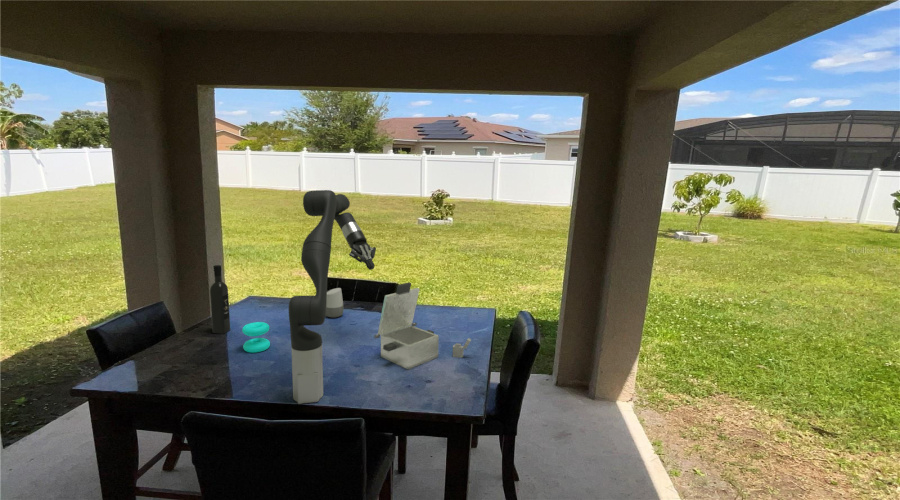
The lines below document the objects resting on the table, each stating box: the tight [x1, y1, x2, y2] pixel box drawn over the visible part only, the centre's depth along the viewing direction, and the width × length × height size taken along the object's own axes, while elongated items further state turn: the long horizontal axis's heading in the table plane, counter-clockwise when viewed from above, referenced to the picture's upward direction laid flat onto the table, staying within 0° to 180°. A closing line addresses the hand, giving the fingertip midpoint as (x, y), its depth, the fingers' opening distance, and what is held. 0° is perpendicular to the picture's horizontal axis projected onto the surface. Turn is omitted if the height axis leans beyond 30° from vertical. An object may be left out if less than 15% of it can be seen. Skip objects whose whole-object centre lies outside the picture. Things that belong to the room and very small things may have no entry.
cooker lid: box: [377, 282, 420, 336], centre depth 173 cm, size 20×17×1 cm
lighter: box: [452, 337, 472, 359], centre depth 173 cm, size 7×2×8 cm, turn 76°
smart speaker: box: [326, 287, 344, 319], centre depth 218 cm, size 10×9×14 cm
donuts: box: [241, 321, 271, 354], centre depth 176 cm, size 10×10×10 cm
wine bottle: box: [209, 264, 231, 335], centre depth 191 cm, size 6×6×30 cm
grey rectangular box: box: [373, 322, 440, 370], centre depth 172 cm, size 17×24×10 cm
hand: (372, 268), depth 178 cm, fingers closed
